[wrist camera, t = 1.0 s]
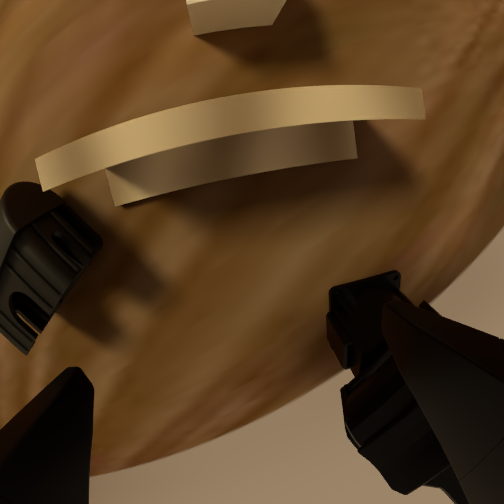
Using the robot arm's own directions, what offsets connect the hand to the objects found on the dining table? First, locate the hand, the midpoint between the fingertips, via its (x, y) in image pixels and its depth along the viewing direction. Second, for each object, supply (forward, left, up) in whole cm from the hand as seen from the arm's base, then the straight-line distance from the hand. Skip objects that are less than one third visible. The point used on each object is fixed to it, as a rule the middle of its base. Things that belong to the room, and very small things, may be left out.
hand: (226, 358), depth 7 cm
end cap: (+14, -1, -13) cm, 19 cm away
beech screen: (-2, -5, -13) cm, 13 cm away
